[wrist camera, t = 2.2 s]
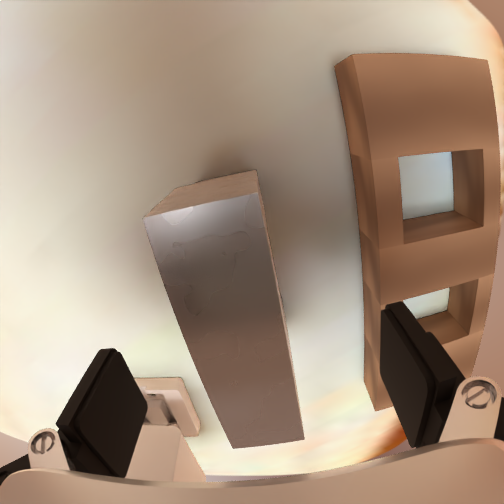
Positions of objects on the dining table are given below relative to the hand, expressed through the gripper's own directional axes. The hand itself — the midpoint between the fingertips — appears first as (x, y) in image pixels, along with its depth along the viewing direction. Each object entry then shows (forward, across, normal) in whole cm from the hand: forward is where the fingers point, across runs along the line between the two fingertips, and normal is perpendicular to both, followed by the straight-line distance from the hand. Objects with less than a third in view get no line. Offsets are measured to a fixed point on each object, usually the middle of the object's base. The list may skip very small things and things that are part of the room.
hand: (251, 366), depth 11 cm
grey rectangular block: (+7, 0, -1) cm, 7 cm away
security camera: (+8, +9, +10) cm, 16 cm away
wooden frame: (+7, -10, 0) cm, 12 cm away
